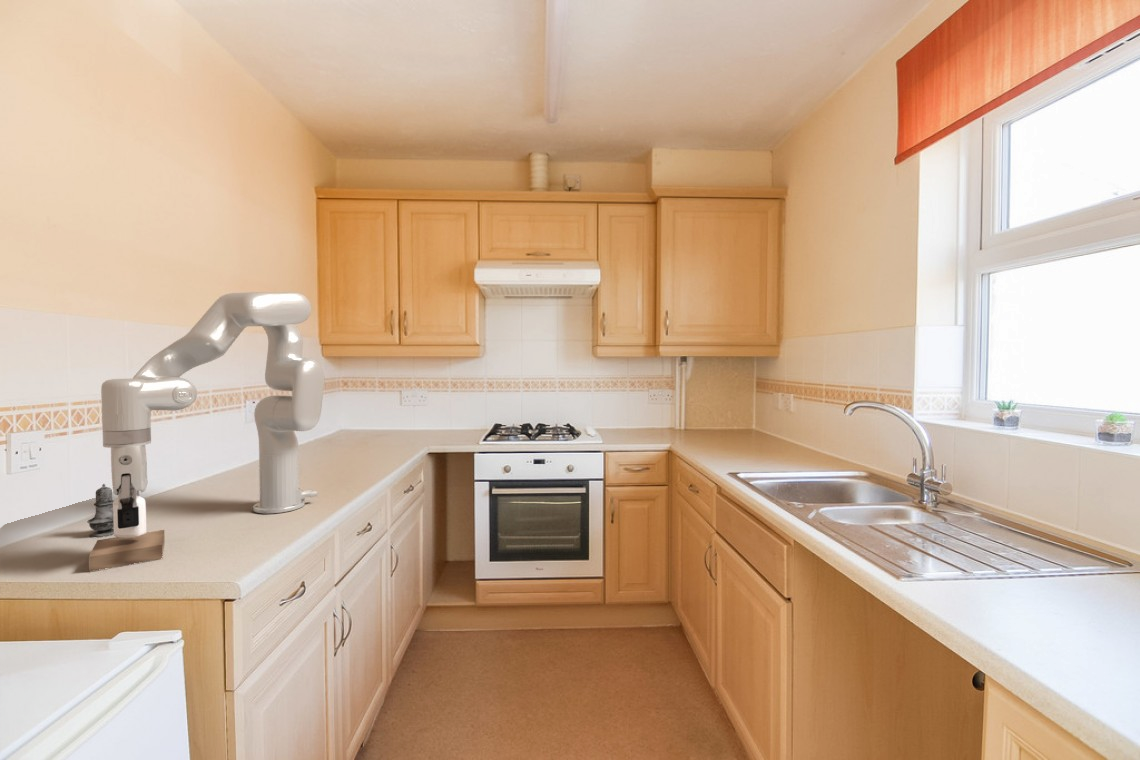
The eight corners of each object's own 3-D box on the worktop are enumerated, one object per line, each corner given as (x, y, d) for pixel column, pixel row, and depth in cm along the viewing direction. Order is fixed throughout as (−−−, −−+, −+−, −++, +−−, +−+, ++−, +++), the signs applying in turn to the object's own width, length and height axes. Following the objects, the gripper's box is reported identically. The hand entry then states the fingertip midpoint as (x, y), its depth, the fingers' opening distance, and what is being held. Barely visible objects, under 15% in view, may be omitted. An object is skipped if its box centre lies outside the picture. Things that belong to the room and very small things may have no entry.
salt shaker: (128, 529, 119) (127, 481, 119) (103, 538, 113) (101, 487, 113) (106, 528, 120) (105, 480, 119) (80, 537, 114) (78, 486, 113)
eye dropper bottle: (121, 541, 100) (120, 483, 100) (111, 535, 103) (110, 479, 103) (148, 534, 104) (147, 479, 103) (138, 529, 107) (136, 475, 106)
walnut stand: (164, 542, 111) (164, 529, 111) (162, 558, 102) (161, 544, 102) (97, 553, 104) (97, 540, 104) (89, 572, 96) (88, 557, 96)
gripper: (148, 441, 98) (150, 531, 99) (153, 431, 112) (155, 509, 112) (96, 445, 93) (99, 539, 94) (108, 433, 107) (111, 516, 108)
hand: (129, 522), depth 103 cm, fingers closed on eye dropper bottle, 4 cm apart
